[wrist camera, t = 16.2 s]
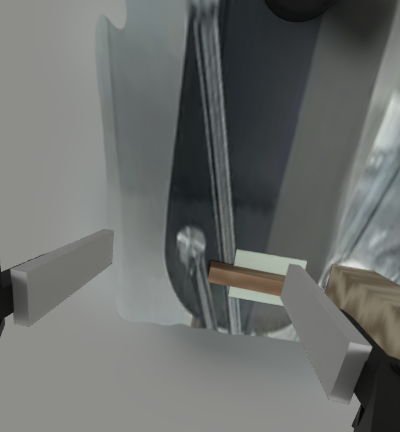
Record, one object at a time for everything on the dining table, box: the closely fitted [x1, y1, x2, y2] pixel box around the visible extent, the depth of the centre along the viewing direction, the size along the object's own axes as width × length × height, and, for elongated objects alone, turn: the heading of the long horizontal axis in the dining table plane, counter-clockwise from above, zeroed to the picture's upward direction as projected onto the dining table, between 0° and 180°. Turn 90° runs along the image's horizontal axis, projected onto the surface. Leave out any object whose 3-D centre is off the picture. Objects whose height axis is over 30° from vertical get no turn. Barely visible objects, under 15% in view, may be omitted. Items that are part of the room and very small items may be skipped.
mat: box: [228, 249, 307, 306], centre depth 45 cm, size 12×16×1 cm
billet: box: [208, 261, 286, 296], centre depth 43 cm, size 4×20×4 cm, turn 80°
